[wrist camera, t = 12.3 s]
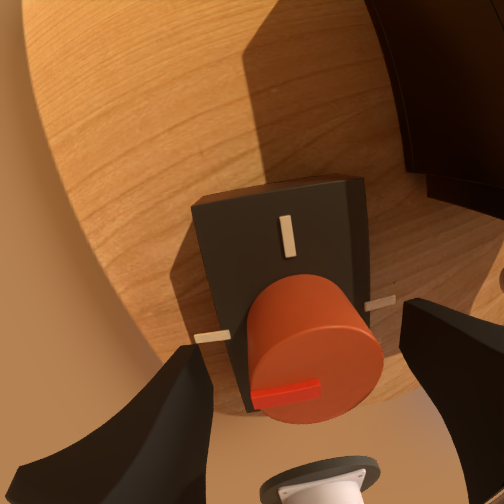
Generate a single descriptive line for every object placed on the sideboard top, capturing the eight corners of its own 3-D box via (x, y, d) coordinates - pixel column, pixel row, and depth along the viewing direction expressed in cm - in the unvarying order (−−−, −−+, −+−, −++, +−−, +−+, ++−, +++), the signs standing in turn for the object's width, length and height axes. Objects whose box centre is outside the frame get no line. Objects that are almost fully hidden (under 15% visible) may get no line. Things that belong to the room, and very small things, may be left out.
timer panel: (365, 349, 15) (386, 384, 12) (226, 377, 15) (224, 418, 12) (358, 170, 12) (392, 174, 9) (178, 201, 12) (157, 214, 9)
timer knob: (346, 263, 10) (394, 315, 6) (349, 348, 11) (381, 412, 7) (236, 285, 10) (234, 351, 6) (257, 369, 11) (262, 440, 8)
